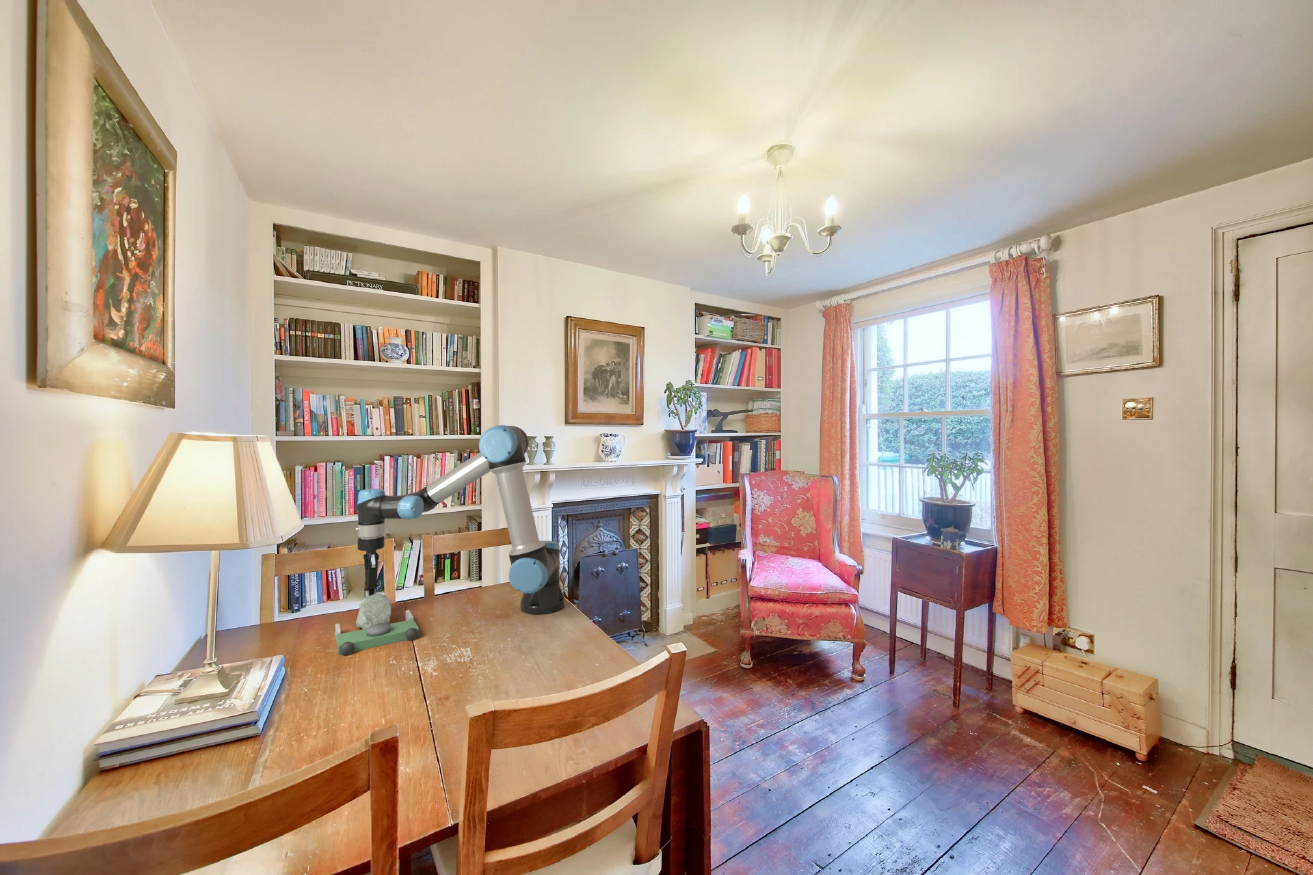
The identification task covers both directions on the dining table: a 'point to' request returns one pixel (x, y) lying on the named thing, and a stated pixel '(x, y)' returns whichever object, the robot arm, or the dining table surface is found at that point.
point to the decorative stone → (374, 611)
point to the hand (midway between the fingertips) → (370, 608)
